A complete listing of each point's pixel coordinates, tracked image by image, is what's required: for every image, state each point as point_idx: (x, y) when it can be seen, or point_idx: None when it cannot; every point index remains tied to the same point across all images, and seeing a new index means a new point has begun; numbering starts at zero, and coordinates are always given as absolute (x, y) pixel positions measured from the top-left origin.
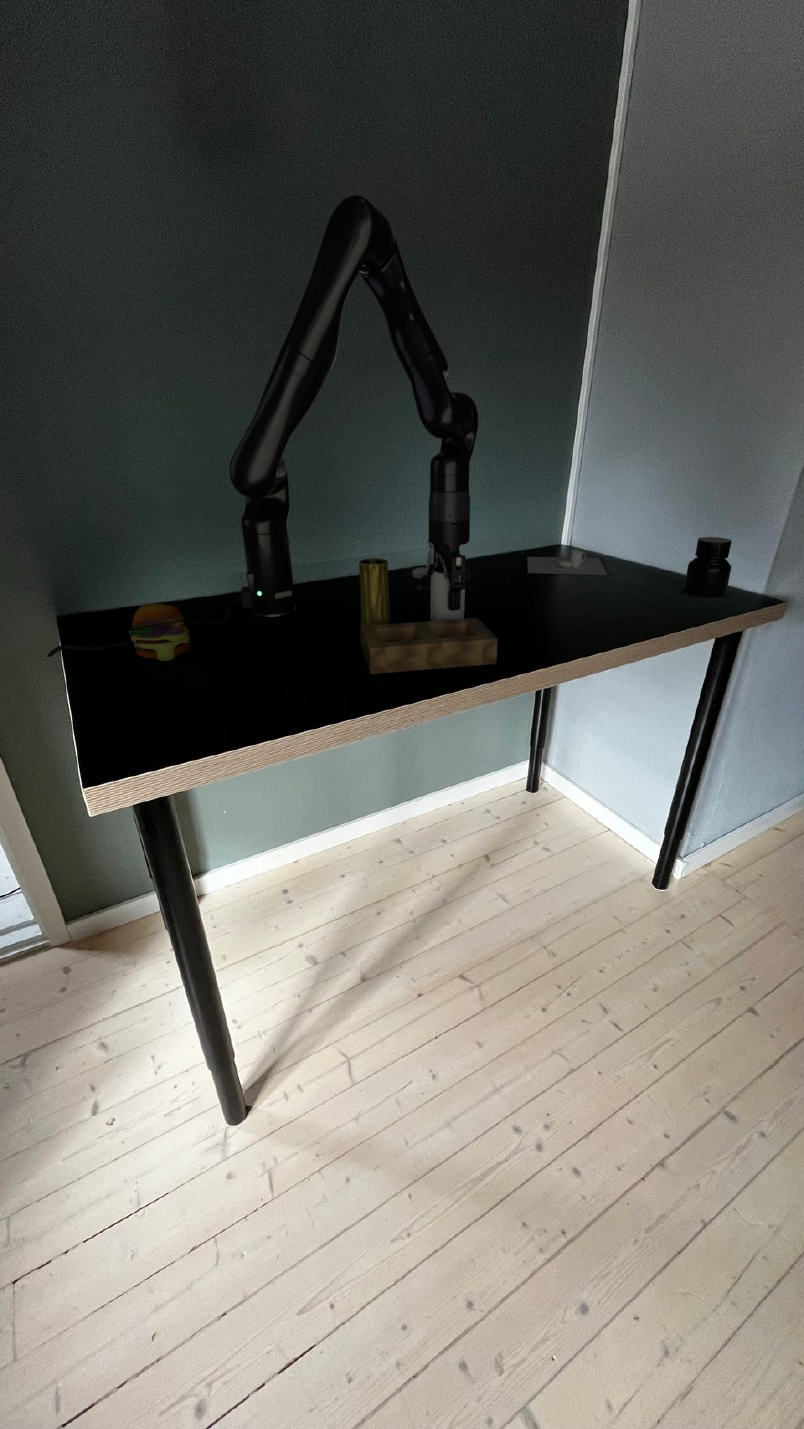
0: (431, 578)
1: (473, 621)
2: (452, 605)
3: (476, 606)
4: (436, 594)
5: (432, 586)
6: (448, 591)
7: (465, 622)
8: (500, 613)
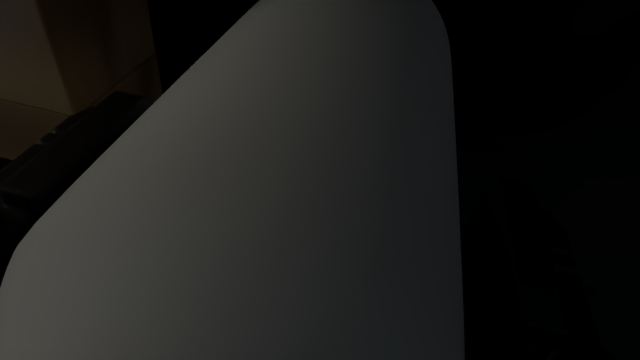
0: (214, 227)
1: (26, 137)
2: (65, 122)
3: (622, 331)
4: (171, 96)
5: (198, 130)
6: (23, 188)
7: (1, 92)
8: (466, 332)
